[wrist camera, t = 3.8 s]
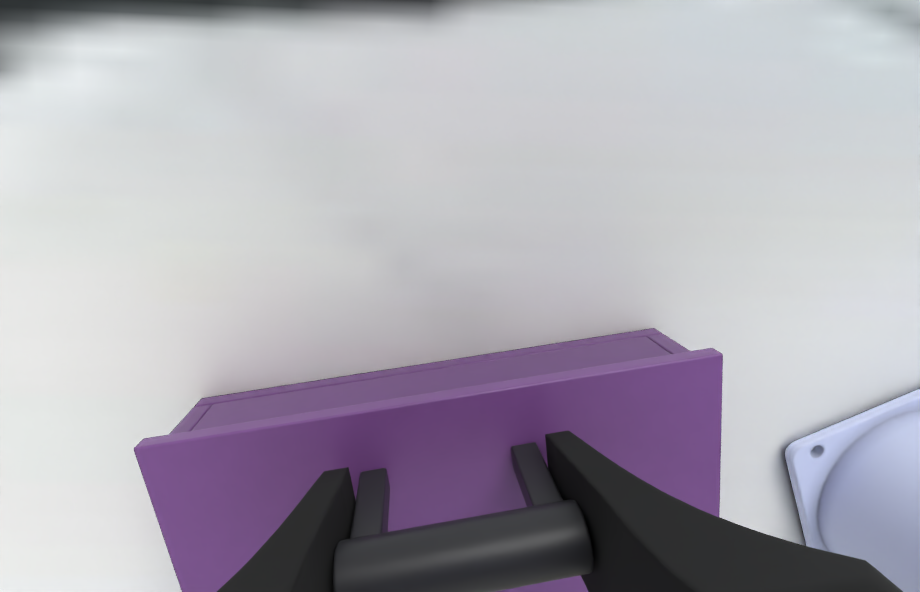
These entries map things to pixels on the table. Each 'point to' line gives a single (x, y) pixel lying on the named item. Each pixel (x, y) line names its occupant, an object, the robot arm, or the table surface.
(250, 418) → the box
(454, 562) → the lid
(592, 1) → the table surface
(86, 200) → the table surface
